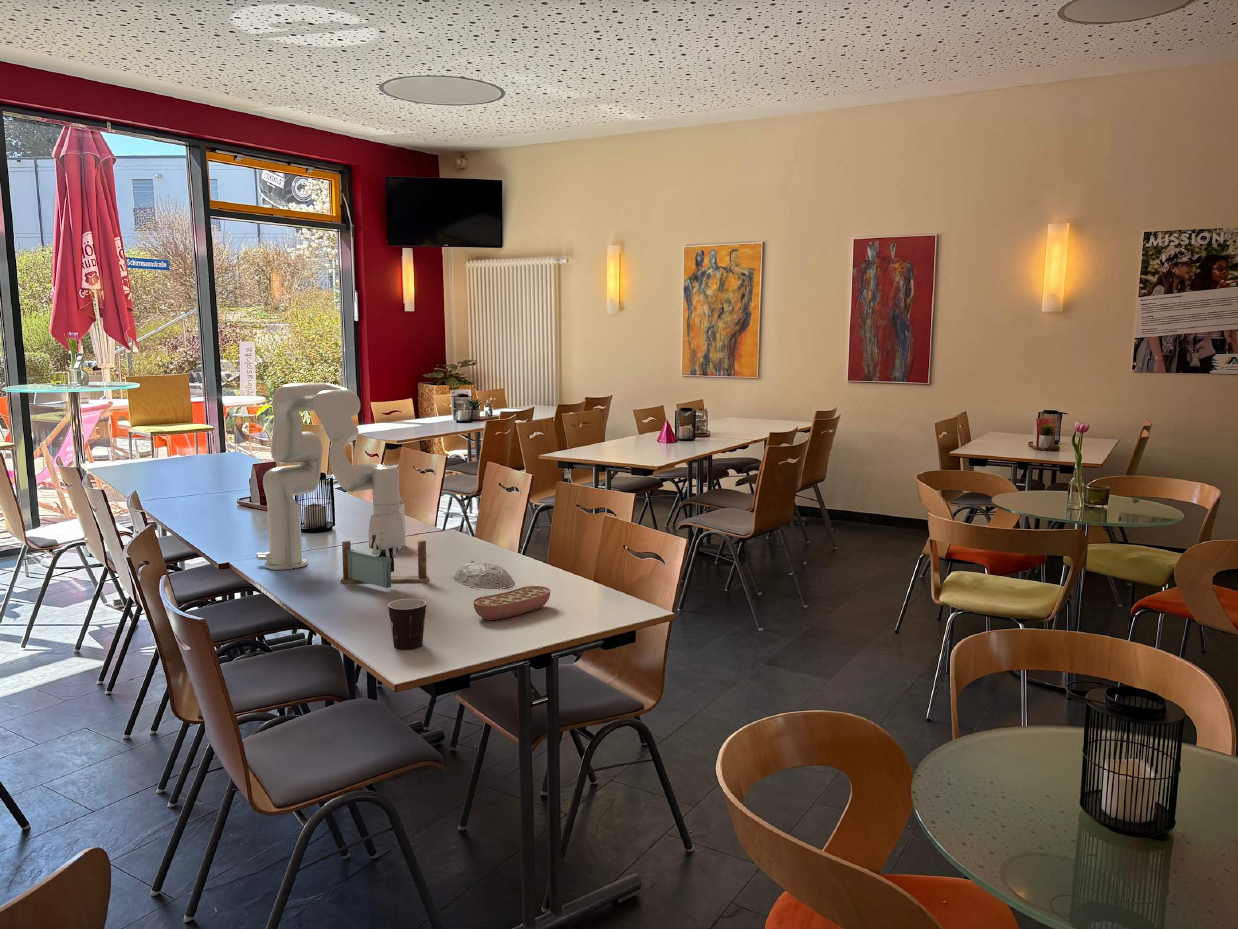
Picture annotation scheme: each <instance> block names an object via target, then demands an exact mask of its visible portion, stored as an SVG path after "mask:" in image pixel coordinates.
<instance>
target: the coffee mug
mask: <svg viewBox="0 0 1238 929" xmlns="http://www.w3.org/2000/svg"><path fill="white" fill-rule="evenodd" d="M387 608H388V615H389V622H390V627H391V628H390V629H391V635H392V642H393V648H394V649H395V650H398V651H413V650H417V649H419V648H421V647H422V646H423V641H424V640H423V639H424V633H425V632H424V630H425V629H424V628H425V624H426V623H425V622H426V612H427V601H425V600H424V599H420V598H401V599H395V600H393V601H390V602H389V603H387Z"/></svg>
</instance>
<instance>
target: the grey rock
mask: <svg viewBox="0 0 1238 929" xmlns="http://www.w3.org/2000/svg"><path fill="white" fill-rule="evenodd" d="M452 578H453V579H454V580H455V581H454V580H453V579H452ZM451 579H452V580H453V581H454V582H456V581H457V582H456V583H458V582H459V583H458V584H460V583H462V584H463V586H465V587H466V586H468V587H467V588H470V587H473V588H472V589H477V590H480V589H499V590H501V589H500V588H503V587H509V586H511V585H513V586H515V584H514V583H516V582H515V580H514V579H513V577H512V576H511V575H510V574H509V572H507V570H506V569H504V567H502V566H499V565H496V564H493V563H489V562H486V561H475V560H470V561H469V562H466V563H463V564H462V565H460V566H459V568H457V569H456V572H455V573H454V574H453V575H452V577H451ZM462 584H461V585H462ZM509 588H510V587H509Z"/></svg>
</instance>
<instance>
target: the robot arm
mask: <svg viewBox="0 0 1238 929" xmlns="http://www.w3.org/2000/svg"><path fill="white" fill-rule="evenodd" d="M271 402H272V411H273V426H272V433H271V434H272V436H271V448H270V452H271V458H272V459H273V461H274V462H276V463H278V464H284V465H285V464H286V465H285V466H284V465H283V466H277V467H273V468H270V469H269V470H267V471H266V472H265V473H264V475H263V478H262V486H263V490H264V494H265V498H266V507H267V521H268V545H269V546H268V548H269V549H268V550H269V551H267V552H257V553H256V559H257V560H258V561H262V560H264V561H266V562H265V563H264V567H265V568H266V569H268V568H269V569H268V570H273V571H281V570H282V571H283V570H286V569H287V570H293V568H295V569H299V567H300V568H302V567H305V566H307V565H308V560H307V559H306V558H303V555H302V554H303V553H302V551H303V550H302V530H301V525H302V524H301V510H300V509H301V508H300V507H299V505H298V503H297V501H296V500H295V498H294V496H299V495H305V494H310V493H314V491H316V490H317V488H318V486H319V485H320V478H321V473H322V472H321V471H322V461H323V451H324V450H323V449H324V448H323V443H322V440H321V438H320V436H319V435H318V434H317V433H315V432H313V431H303V426H304V421H303V417H302V415H301V413H300V412H307V411H308V412H311V411H313V412H314V413H315V416H316V417H317V419H318V420H319V423H320V424H321V425H322V427H323V429H324V432H325V433H326V435H327V437H328V439H329V441H330V442H331V443H330V447H329V451H328V464H329V468H330V470H331V474H333V476H334V478H335V481H336V482H337V483H338V485H339V486H340V487H341V488H342V489H343V490H345V491H346V492H348V493H353V492H354V493H355V492H356V493H357V492H361V491H366V490H367V491H369V490H372V514H371V515H370V518H369V525H368V526H369V527H368V548H369V549H372V550H371V551H372V553H371V554H374V555H378V556H382V557H388V558H391V573H393V572H395V558H396V555H397V553H398V551H399V550H401V549H402V548H403V546H402V544H403V543H404V526H403V519H402V515H401V512H400V507H401V503H400V497H401V492H400V489H401V488H400V470H399V468H398V467H397V466H395V465H383V464H381V463H377V462H370V463H360V464H354V465H352V464H351V462H350V461H349V459H348V457H347V454H346V451H345V450H346V449H345V447H346V446H348V445H350V444H351V443H352V442H353V441H354V440H356V438H357V437H358V435H359V432H360V431H359V428H358V426H357V425H356V423H355V421H354V419H353V417H355V416H356V415H358V414H359V412H360V410H361V400H360V398H359V396H358V395H357V394H356V393H355V392H354V391H353V390H351V389H349V388H346V387H343V386H339V385H335V384H332V383H327V382H299V383H298V382H297V383H296V382H295V383H288V384H283V385H280V386H279V387H277V388H276V390H275V391H274V393H273V396H272V401H271ZM295 463H296V465H295ZM287 464H292V465H287ZM293 464H294V465H293ZM287 570H286V571H287Z"/></svg>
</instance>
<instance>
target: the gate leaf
mask: <svg viewBox="0 0 1238 929" xmlns="http://www.w3.org/2000/svg"><path fill="white" fill-rule="evenodd" d="M347 554H348V578H351V579H355V580H359V581H363V582H366V583H365V584H371V585H374V586H378V587H382V588H383V589H388V588H392V583H391V576H392V572H391V558H388V557H382V556H379V555H375V554H372V553H370V552H366V551H365V552H364V551H361V550H357V549H353V548H351V549H349V550H347Z"/></svg>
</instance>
